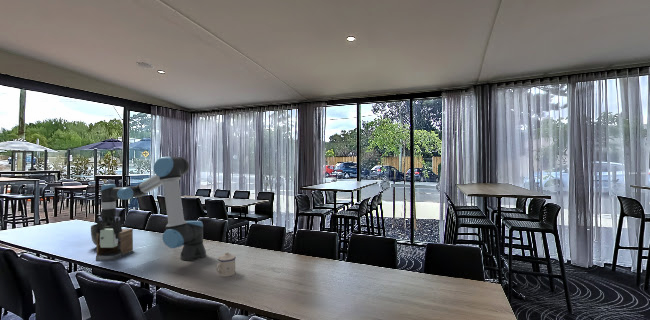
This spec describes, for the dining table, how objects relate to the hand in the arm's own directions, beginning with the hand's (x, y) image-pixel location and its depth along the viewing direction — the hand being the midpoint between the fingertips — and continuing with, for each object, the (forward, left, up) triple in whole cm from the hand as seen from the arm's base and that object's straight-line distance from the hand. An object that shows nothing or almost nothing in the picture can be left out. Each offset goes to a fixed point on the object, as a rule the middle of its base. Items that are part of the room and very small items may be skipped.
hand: (109, 243), depth 190 cm
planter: (+23, -28, -10) cm, 37 cm away
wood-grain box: (+4, -11, -9) cm, 15 cm away
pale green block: (0, 0, -2) cm, 2 cm away
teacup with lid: (-84, +29, -10) cm, 89 cm away
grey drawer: (0, 0, -9) cm, 9 cm away
